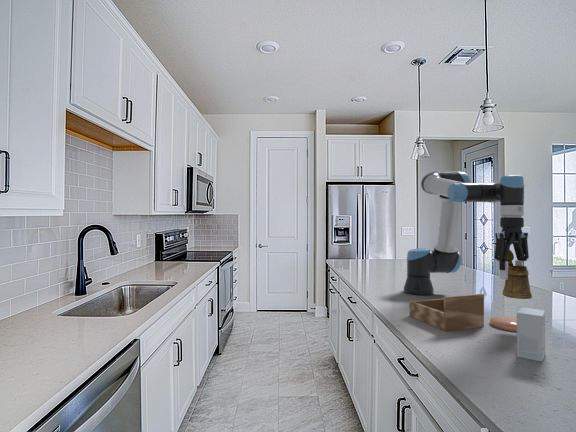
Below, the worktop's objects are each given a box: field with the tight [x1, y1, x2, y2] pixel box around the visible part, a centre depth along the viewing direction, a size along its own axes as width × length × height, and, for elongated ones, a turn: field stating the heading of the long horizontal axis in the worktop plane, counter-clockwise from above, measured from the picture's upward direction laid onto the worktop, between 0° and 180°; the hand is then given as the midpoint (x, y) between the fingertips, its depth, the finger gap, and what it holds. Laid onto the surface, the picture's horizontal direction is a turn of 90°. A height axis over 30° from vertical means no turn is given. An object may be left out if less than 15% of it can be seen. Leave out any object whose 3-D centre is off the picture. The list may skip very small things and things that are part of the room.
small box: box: [516, 306, 546, 362], centre depth 107 cm, size 8×6×13 cm
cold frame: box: [409, 293, 485, 332], centre depth 142 cm, size 20×17×12 cm
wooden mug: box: [502, 249, 533, 300], centre depth 136 cm, size 9×14×18 cm, turn 3°
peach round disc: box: [489, 316, 517, 333], centre depth 136 cm, size 14×14×2 cm
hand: (511, 278), depth 135 cm, fingers closed on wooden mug, 7 cm apart
